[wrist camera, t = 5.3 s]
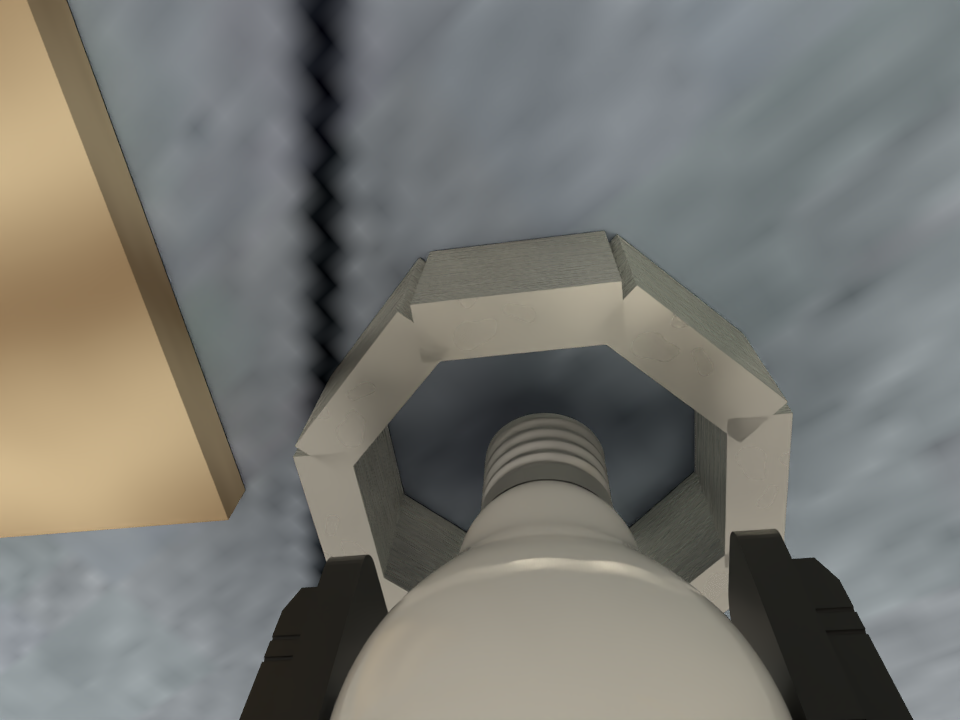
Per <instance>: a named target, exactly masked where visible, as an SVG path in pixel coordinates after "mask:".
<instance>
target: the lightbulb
mask: <svg viewBox="0 0 960 720" xmlns="http://www.w3.org/2000/svg"><path fill="white" fill-rule="evenodd" d="M484 468H485V472H484V484H483V491H482V493H483V496H482V503H481V512H480V513H479V514H478V516H477V517H476V518H475V520H474V521H473V523H472V524H471V526H470V528H469V529H468V531H467V533H466V535H465V538H464V540H463V542H462V545H461V547H460V550H459V553H458V555H457V556H456V557H455V558H453V559H452V560H450V561H448V562H447V563H445V564H444V565H442V566H441V567H440V568H438V569H437V570H435V571H434V572H432V573H431V574H430V575H428V576H427V577H426V578H425V579H423V580H422V581H421V582H419V583H418V584H417V585H416V586H415V587H414V588H412V589H411V590H410V591H409V592H408V593H407V594H406V595H405V596H404V597H403V598H402V599H401V600H400V601H399V602H398V603H397V604H396V605H395V606H394V607H393V608H392V609H391V610H390V611H389V612H388V613H387V614H386V616H385V617H384V618H383V619H382V621H381V622H380V623H379V624H378V625H377V627H376V628H375V629H374V631H373V632H372V634H371V635H370V636H369V638H368V639H367V641H366V642H365V644H364V645H363V647H362V649H361V650H360V652H359V653H358V655H357V657H356V659H355V660H354V662H353V664H352V666H351V668H350V670H349V672H348V674H347V676H346V678H345V680H344V682H343V685H342V687H341V689H340V692H339V694H338V697H337V699H336V702H335V705H334V708H333V710H332V713H331V717H330V720H793V718H792V716H791V714H790V711H789V709H788V707H787V705H786V702H785V700H784V698H783V696H782V694H781V692H780V690H779V688H778V686H777V685H776V683H775V681H774V679H773V677H772V676H771V674H770V672H769V671H768V669H767V667H766V666H765V664H764V663H763V661H762V660H761V658H760V657H759V655H758V654H757V652H756V651H755V650H754V648H753V647H752V646H751V644H750V643H749V642H748V640H747V639H746V638H745V637H744V635H743V634H742V633H741V632H740V631H739V629H738V628H737V627H736V626H735V625H734V624H733V623H732V621H731V620H730V619H729V618H728V617H727V616H726V615H725V614H724V613H723V612H722V611H721V610H720V609H719V608H718V607H717V606H716V605H715V604H714V603H713V602H712V601H710V600H709V599H708V598H707V597H706V596H705V595H703V594H702V593H701V592H700V591H699V590H698V589H696V588H695V587H694V586H692V585H691V584H690V583H688V582H687V581H686V580H684V579H683V578H682V577H680V576H679V575H677V574H676V573H674V572H673V571H671V570H670V569H668V568H667V567H665V566H663V565H662V564H660V563H659V562H657V561H655V560H653V559H652V558H650V557H648V556H646V555H645V554H643V553H641V551H640V549H639V547H638V545H637V543H636V541H635V539H634V537H633V535H632V533H631V531H630V530H629V528H628V526H627V525H626V523H625V522H624V521H623V519H622V518H621V517H620V516H619V514H618V513H617V512H616V511H615V510H614V508H613V504H612V500H611V492H610V488H609V480H608V476H607V469H606V464H605V455H604V451H603V448H602V446H601V444H600V442H599V440H598V438H597V437H596V436H595V435H594V433H593V432H592V431H591V430H590V429H589V428H588V427H586V426H585V425H584V424H582V423H580V422H579V421H577V420H575V419H573V418H570V417H567V416H564V415H560V414H554V413H536V414H530V415H526V416H523V417H520V418H517V419H515V420H513V421H511V422H510V423H508V424H506V425H505V426H504V427H502V428H501V429H500V430H499V431H498V432H497V433H496V435H495V436H494V437H493V439H492V440H491V442H490V444H489V446H488V449H487V452H486V460H485V467H484Z"/></svg>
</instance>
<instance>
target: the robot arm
mask: <svg viewBox="0 0 960 720" xmlns="http://www.w3.org/2000/svg"><path fill="white" fill-rule="evenodd" d="M728 601H729V610H730V616H731V621H732V623H733V624H734V625H735V626H736V627H737V628H738V629H739V631H740V632H741V633H742V634H743V635H744V637H745V638H746V639H747V640H748V642H749V643H750V644H751V646H752V647H753V648H754V650H755V651H756V652H757V654H758V655H759V657H760V658H761V660H762V661H763V663H764V664H765V666H766V667H767V669H768V671H769V672H770V674H771V676H772V677H773V679H774V681H775V683H776V685H777V686H778V688H779V690H780V692H781V694H782V696H783V698H784V700H785V702H786V705H787V707H788V709H789V711H790V714H791V716H792V718H793V720H913V718H912V717H911V715H910V713H909V711H908V709H907V707H906V705H905V703H904V701H903V699H902V698H901V696H900V694H899V692H898V690H897V688H896V686H895V684H894V682H893V680H892V679H891V677H890V675H889V673H888V671H887V669H886V667H885V665H884V663H883V662H882V660H881V658H880V656H879V654H878V652H877V650H876V648H875V646H874V644H873V643H872V641H871V639H870V637H869V635H868V634H866V632H865V627H864V626H863V624H862V622H861V620H860V618H859V616H858V614H857V612H854V608H853V605H852V603H851V601H850V599H849V597H848V595H847V593H846V591H845V590H844V588H843V586H842V584H841V582H840V580H839V579H838V578H837V577H836V576H834V575H833V574H832V573H831V572H830V571H829V570H828V569H827V568H825V567H824V566H823V565H822V564H821V563H820V562H819V561H818V560H816V559H815V558H801V559H792V558H791V556H790V554H789V552H788V549H787V547H786V545H785V543H784V541H783V539H782V536H781V535H780V533H779V531H778V530H777V529H762V530H747V531H732V532H731V534H730V545H729V581H728ZM387 613H388V610H387V606H386V603H385V599H384V596H383V592H382V589H381V585H380V582H379V578H378V574H377V571H376V567H375V564H374V561H373V558H372V557H371V555H353V556H339V557H330V558H329V559H328V560H327V562H326V564H325V567H324V570H323V572H322V575H321V578H320V581H319V584H318V587H308V588H301V589H300V591H299V592H298V593H297V594H296V595H295V596H294V598H293V599H292V600H291V601H290V602H289V603H288V605H287V606H286V607H285V608H284V609H283V610H282V613H281V615H280V618H279V620H278V623H277V625H276V628H275V631H274V633H273V636H272V637H273V640H272V641H270V643H269V646H268V648H267V651H266V653H265V656H264V662H262V664H261V666H260V669H259V671H258V674H257V676H256V679H255V681H254V684H253V686H252V689H251V691H250V694H249V696H248V699H247V702H246V704H245V707H244V709H243V712H242V714H241V717H240V719H239V720H330V717H331V713H332V710H333V708H334V705H335V702H336V699H337V697H338V694H339V692H340V689H341V687H342V685H343V682H344V680H345V678H346V676H347V674H348V672H349V670H350V668H351V666H352V664H353V662H354V660H355V659H356V657H357V655H358V653H359V652H360V650H361V649H362V647H363V645H364V644H365V642H366V641H367V639H368V638H369V636H370V635H371V634H372V632H373V631H374V629H375V628H376V627H377V625H378V624H379V623H380V622H381V621H382V619H383V618H384V617H385V616H386V614H387Z"/></svg>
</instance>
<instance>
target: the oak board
mask: <svg viewBox="0 0 960 720" xmlns="http://www.w3.org/2000/svg"><path fill="white" fill-rule="evenodd" d="M244 492H245V488H244V485H243V483H242V480H241V477H240V474H239V472H238V469H237V466H236V464H235V461H234V458H233V455H232V453H231V450H230V447H229V444H228V442H227V439H226V436H225V433H224V431H223V428H222V425H221V422H220V420H219V417H218V414H217V412H216V409H215V406H214V403H213V401H212V398H211V395H210V392H209V390H208V387H207V384H206V381H205V379H204V376H203V373H202V370H201V368H200V365H199V362H198V359H197V357H196V354H195V351H194V349H193V346H192V343H191V340H190V338H189V335H188V332H187V329H186V327H185V324H184V321H183V318H182V316H181V313H180V310H179V307H178V305H177V302H176V299H175V297H174V294H173V291H172V288H171V286H170V283H169V280H168V277H167V275H166V272H165V269H164V266H163V264H162V261H161V258H160V255H159V253H158V250H157V247H156V244H155V242H154V239H153V236H152V234H151V231H150V228H149V225H148V223H147V220H146V217H145V214H144V212H143V209H142V206H141V203H140V201H139V198H138V195H137V192H136V190H135V187H134V184H133V181H132V179H131V176H130V173H129V171H128V168H127V165H126V162H125V160H124V157H123V154H122V151H121V149H120V146H119V143H118V140H117V138H116V135H115V132H114V129H113V127H112V124H111V121H110V119H109V116H108V113H107V110H106V108H105V105H104V102H103V99H102V97H101V94H100V91H99V88H98V86H97V83H96V80H95V77H94V75H93V72H92V69H91V66H90V64H89V61H88V58H87V56H86V53H85V50H84V47H83V45H82V42H81V39H80V36H79V34H78V31H77V28H76V25H75V23H74V20H73V17H72V14H71V12H70V9H69V6H68V3H67V1H66V0H0V538H3V537H15V536H28V535H41V534H54V533H67V532H80V531H93V530H105V529H118V528H131V527H144V526H157V525H170V524H183V523H195V522H208V521H221V520H229V518H230V516H231V514H232V513H233V511H234V509H235V507H236V506H237V504H238V502H239V500H240V499H241V497H242V495H243V493H244Z"/></svg>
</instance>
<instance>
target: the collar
mask: <svg viewBox="0 0 960 720" xmlns="http://www.w3.org/2000/svg"><path fill="white" fill-rule="evenodd" d="M596 345H608V346H609V347H610V348H612V349H613V350H614V351H616V352H617V353H618V354H620V355H621V356H622V357H624V358H625V359H626V360H628V361H629V362H631V363H632V364H633V365H635V366H636V367H637V368H639V369H640V370H641V371H643V372H644V373H645V374H647V375H648V376H650V377H651V378H652V379H654V380H655V381H656V382H658V383H659V384H660V385H662V386H663V387H664V388H666V389H667V390H668V391H670V392H671V393H673V394H674V395H675V396H677V397H678V398H679V399H681V400H682V401H683V402H685V403H686V404H687V405H689V406H690V407H692V408H693V409H694V414H695V471H694V472H693V473H692V474H691V475H690V476H689V477H688V478H686V479H685V480H684V481H683V482H682V483H681V484H680V485H678V486H677V487H676V488H675V489H674V490H673V491H672V492H670V493H669V494H668V495H667V496H666V497H665V498H664V499H662V500H661V501H660V502H659V503H658V504H657V505H656V506H655V507H653V508H652V509H651V510H650V511H649V512H648V513H647V514H645V515H644V516H643V517H642V518H641V519H640V520H639V521H637V522H636V523H635V524H634V525H633V526H632V527H631V528H629V530H630V531H631V533H632V535H633V537H634V539H635V541H636V543H637V545H638V547H639V549H640V551H641V553H643V554H645V555H646V556H648V557H650V558H652V559H653V560H655V561H657V562H659V563H660V564H662V565H663V566H665V567H667V568H668V569H670V570H671V571H673V572H674V573H676V574H677V575H679V576H680V577H682V578H683V579H684V580H686V581H687V582H688V583H690V584H691V585H692V586H694V587H695V588H696V589H698V590H699V591H700V592H701V593H702V594H703V595H705V596H706V597H707V598H708V599H709V600H710V601H712V602H713V603H714V604H715V605H716V606H717V607H718V608H719V609H720V610H721V611H722V612H723V613H724V612H725V611H727V610H728V609H729V601H728V581H729V545H730V534H731V532H732V531H747V530H762V529H777V530H778V531H779V533H780V535H781V536H782V539H783V541H784V533H785V518H786V504H787V489H788V475H789V460H790V446H791V431H792V416H793V413H792V411H791V410H790V408H789V407H788V405H787V400H786V399H785V397H784V396H783V394H782V393H781V391H780V390H779V388H778V386H777V385H776V383H775V382H774V380H773V379H772V377H771V376H770V374H769V373H768V371H767V369H766V368H765V366H764V365H763V363H762V362H761V360H760V359H759V357H758V356H757V354H756V352H755V351H754V349H753V348H752V346H751V345H750V343H749V342H748V340H747V339H746V337H745V336H744V334H743V333H742V332H740V331H739V330H738V329H736V328H735V327H734V326H733V325H731V324H730V323H729V322H728V321H726V320H725V319H724V318H723V317H721V316H720V315H719V314H718V313H716V312H715V311H714V310H712V309H711V308H710V307H709V306H707V305H706V304H705V303H704V302H702V301H701V300H700V299H699V298H697V297H696V296H695V295H693V294H692V293H691V292H690V291H688V290H687V289H686V288H685V287H683V286H682V285H681V284H680V283H678V282H677V281H676V280H675V279H673V278H672V277H671V276H669V275H668V274H667V273H666V272H664V271H663V270H662V269H661V268H659V267H658V266H657V265H656V264H654V263H653V262H652V261H651V260H649V259H648V258H647V257H645V256H644V255H643V254H642V253H640V252H639V251H638V250H637V249H635V248H634V247H633V246H632V245H630V244H629V243H628V242H626V241H625V240H624V239H623V238H621V237H620V236H619V235H618V234H617V235H616V236H615V237H614V238H613V239H612V240H611V242H610V243H609V242H608V239H607V236H606V233H605V231H598V232H590V233H582V234H573V235H565V236H557V237H548V238H540V239H532V240H523V241H515V242H507V243H498V244H490V245H482V246H474V247H465V248H457V249H449V250H440V251H432V252H430V253H429V256H428V258H427V261H426V262H425V261H423V260H422V259H421V258H419V259H418V260H417V262H416V263H415V264H414V266H413V267H412V268H411V270H410V271H409V272H408V274H407V275H406V276H405V278H404V279H403V280H402V282H401V283H400V284H399V286H398V287H397V288H396V290H395V291H394V292H393V294H392V295H391V296H390V298H389V299H388V300H387V302H386V303H385V304H384V306H383V307H382V308H381V310H380V311H379V312H378V314H377V315H376V316H375V318H374V319H373V320H372V322H371V323H370V324H369V326H368V327H367V328H366V330H365V331H364V332H363V334H362V335H361V336H360V338H359V339H358V340H357V342H356V343H355V344H354V346H353V347H352V348H351V350H350V351H349V352H348V354H347V355H346V356H345V358H344V359H343V360H342V362H341V363H340V364H339V366H338V367H337V368H336V370H335V371H334V372H333V374H332V375H331V377H330V379H329V381H328V383H327V384H326V386H325V388H324V390H323V392H322V394H321V396H320V398H319V400H318V402H317V404H316V406H315V408H314V410H313V412H312V414H311V416H310V418H309V420H308V422H307V423H306V425H305V427H304V429H303V431H302V433H301V435H300V437H299V439H298V441H297V443H296V445H295V447H297V450H296V452H295V454H294V456H293V458H294V461H295V464H296V468H297V471H298V474H299V477H300V480H301V483H302V486H303V490H304V493H305V496H306V499H307V502H308V505H309V508H310V512H311V515H312V518H313V521H314V524H315V527H316V530H317V534H318V537H319V540H320V543H321V546H322V549H323V552H324V556H325V559H326V562H327V560H328V559H329V558H330V557H339V556H353V555H371V557H372V558H373V561H374V564H375V567H376V571H377V574H378V578H379V582H380V585H381V589H382V592H383V596H384V599H385V603H386V606H387V610H388V612H389V611H390V610H391V609H392V608H393V607H394V606H395V605H396V604H397V603H398V602H399V601H400V600H401V599H402V598H403V597H404V596H405V595H406V594H407V593H408V592H409V591H410V590H411V589H412V588H414V587H415V586H416V585H417V584H418V583H419V582H421V581H422V580H423V579H425V578H426V577H427V576H428V575H430V574H431V573H432V572H434V571H435V570H437V569H438V568H440V567H441V566H442V565H444V564H445V563H447V562H448V561H450V560H452V559H453V558H455V557H456V556H457V555H458V553H459V550H460V547H461V545H462V542H463V540H464V538H465V535H466V532H464V531H463V530H461V529H459V528H458V527H456V526H455V525H453V524H451V523H450V522H448V521H447V520H445V519H443V518H442V517H440V516H438V515H437V514H435V513H434V512H432V511H430V510H429V509H427V508H425V507H424V506H422V505H421V504H419V503H417V502H416V501H414V500H412V499H411V498H409V497H408V496H406V495H404V492H403V487H402V483H401V479H400V475H399V471H398V467H397V462H396V458H395V454H394V450H393V446H392V441H391V437H390V433H389V429H388V423H389V422H390V421H391V420H392V418H393V417H394V416H395V415H396V414H397V412H398V411H399V410H400V409H401V408H402V406H403V405H404V404H405V403H406V402H407V400H408V399H409V398H410V397H411V396H412V394H413V393H414V392H415V391H416V390H417V388H418V387H419V386H420V385H421V384H422V382H423V381H424V380H425V379H426V378H427V376H428V375H429V374H430V373H431V371H432V370H433V369H434V368H435V367H436V365H437V364H438V363H439V362H440V361H448V360H458V359H468V358H478V357H488V356H497V355H507V354H517V353H527V352H537V351H547V350H556V349H566V348H576V347H586V346H596Z"/></svg>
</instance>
